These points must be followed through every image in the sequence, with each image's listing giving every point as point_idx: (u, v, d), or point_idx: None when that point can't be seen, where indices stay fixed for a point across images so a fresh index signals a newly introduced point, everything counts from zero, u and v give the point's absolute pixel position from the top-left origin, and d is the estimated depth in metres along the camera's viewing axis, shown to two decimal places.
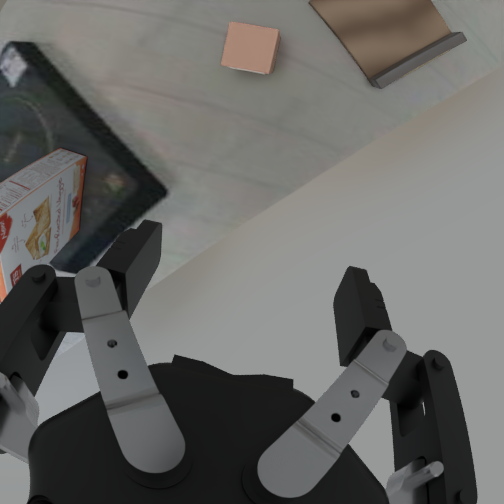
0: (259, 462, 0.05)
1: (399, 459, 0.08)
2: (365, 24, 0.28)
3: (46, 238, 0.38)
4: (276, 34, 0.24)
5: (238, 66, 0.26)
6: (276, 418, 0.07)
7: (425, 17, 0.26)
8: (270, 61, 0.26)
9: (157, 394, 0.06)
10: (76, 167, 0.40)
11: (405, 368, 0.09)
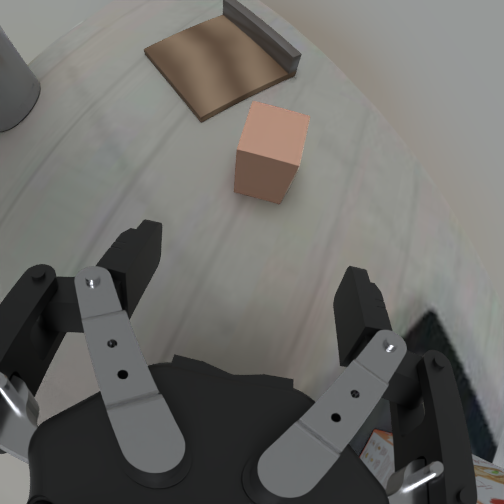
0: (259, 462, 0.05)
1: (399, 459, 0.08)
2: (227, 72, 0.32)
3: (486, 469, 0.17)
4: (259, 103, 0.23)
5: (301, 146, 0.23)
6: (276, 418, 0.07)
7: (211, 30, 0.33)
8: (294, 112, 0.23)
9: (157, 394, 0.06)
10: (391, 438, 0.25)
11: (405, 368, 0.09)
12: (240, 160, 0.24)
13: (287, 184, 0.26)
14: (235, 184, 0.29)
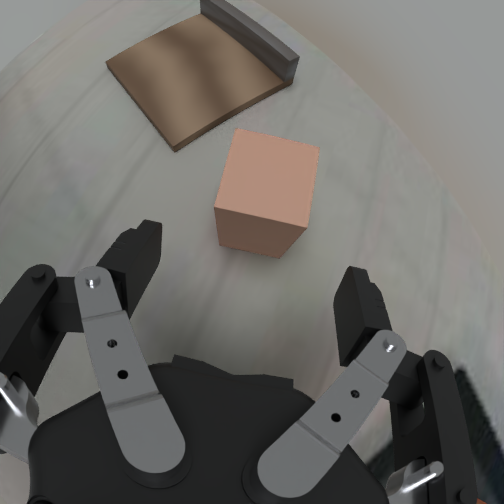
0: (259, 462, 0.05)
1: (399, 459, 0.08)
2: (206, 84, 0.26)
3: None
4: (244, 131, 0.16)
5: (309, 195, 0.16)
6: (276, 418, 0.07)
7: (187, 33, 0.27)
8: (296, 143, 0.16)
9: (157, 394, 0.06)
10: None
11: (405, 368, 0.09)
12: (221, 218, 0.17)
13: (289, 243, 0.19)
14: (220, 239, 0.22)
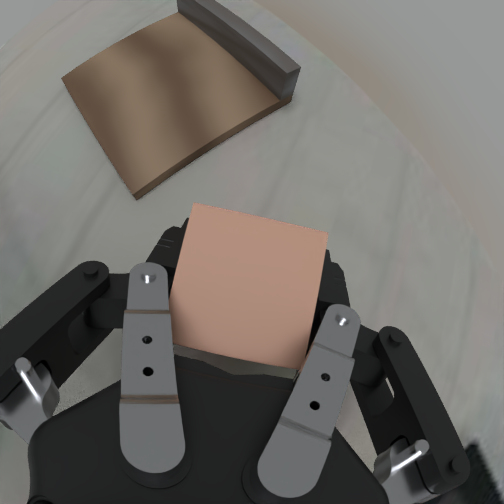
0: (259, 462, 0.05)
1: (378, 440, 0.08)
2: (178, 105, 0.20)
3: None
4: (208, 209, 0.10)
5: (308, 318, 0.10)
6: (276, 418, 0.07)
7: (159, 37, 0.21)
8: (292, 227, 0.11)
9: (175, 399, 0.06)
10: None
11: (360, 343, 0.10)
12: None
13: None
14: None
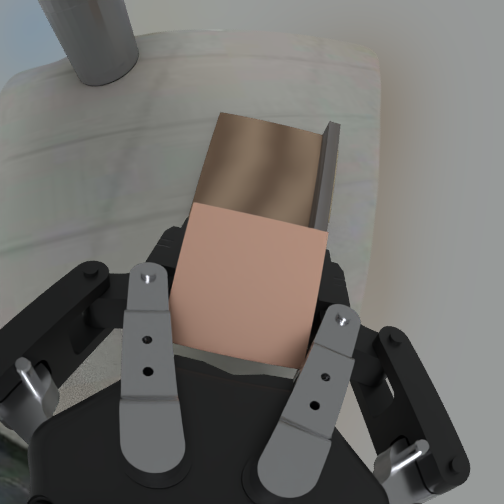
0: (259, 462, 0.05)
1: (377, 440, 0.08)
2: (252, 204, 0.32)
3: None
4: (208, 208, 0.10)
5: (308, 318, 0.10)
6: (276, 418, 0.07)
7: (292, 145, 0.33)
8: (292, 226, 0.11)
9: (175, 398, 0.06)
10: None
11: (360, 343, 0.10)
12: None
13: None
14: None
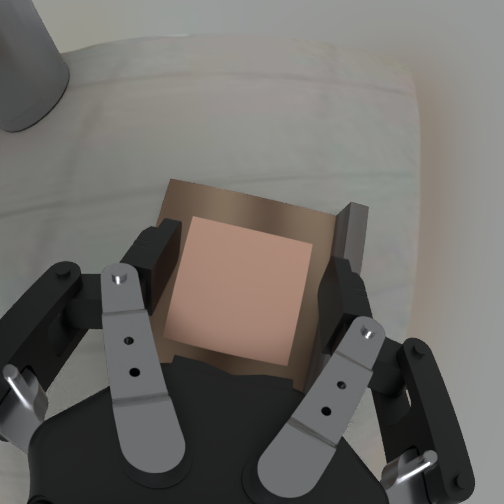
0: (259, 462, 0.05)
1: (389, 449, 0.08)
2: None
3: None
4: (205, 222, 0.12)
5: (293, 320, 0.11)
6: (276, 418, 0.07)
7: (286, 237, 0.21)
8: (280, 239, 0.12)
9: (166, 396, 0.06)
10: None
11: (384, 355, 0.09)
12: None
13: None
14: None
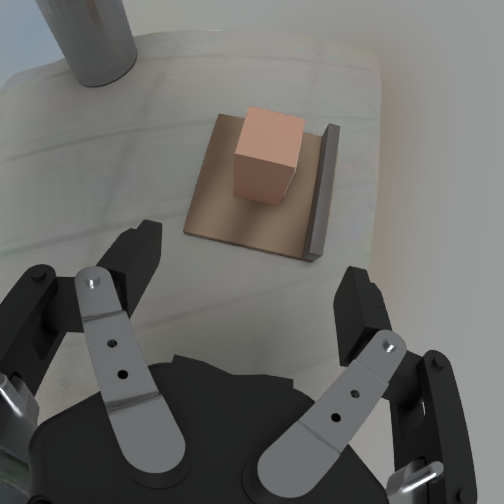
0: (259, 462, 0.05)
1: (399, 459, 0.08)
2: (250, 207, 0.32)
3: None
4: (255, 108, 0.24)
5: (297, 148, 0.23)
6: (276, 418, 0.07)
7: None
8: (289, 116, 0.24)
9: (157, 394, 0.06)
10: None
11: (405, 368, 0.09)
12: (238, 164, 0.25)
13: (285, 186, 0.27)
14: (234, 188, 0.30)
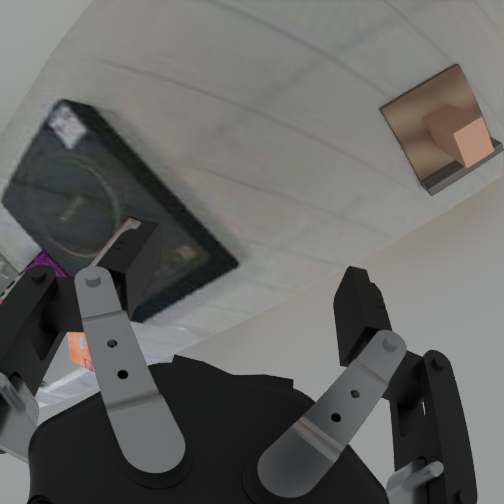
0: (259, 462, 0.05)
1: (399, 459, 0.08)
2: (424, 133, 0.36)
3: None
4: (482, 121, 0.26)
5: (476, 160, 0.29)
6: (276, 418, 0.07)
7: None
8: (490, 142, 0.27)
9: (157, 394, 0.06)
10: None
11: (405, 368, 0.09)
12: (447, 132, 0.29)
13: (452, 156, 0.32)
14: (429, 121, 0.33)
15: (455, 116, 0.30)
